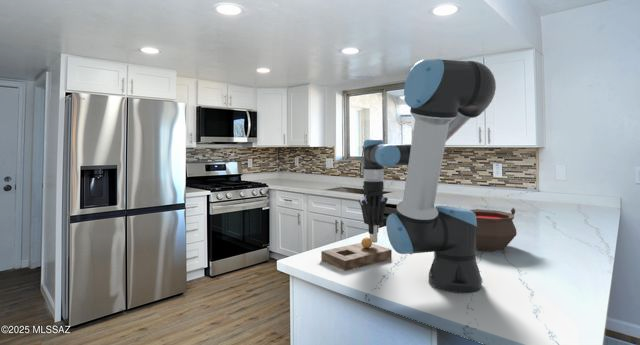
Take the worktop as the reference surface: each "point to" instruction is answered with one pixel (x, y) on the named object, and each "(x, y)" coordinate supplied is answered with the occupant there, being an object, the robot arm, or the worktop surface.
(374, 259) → the wooden block with hole
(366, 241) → the ball
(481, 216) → the brown pot
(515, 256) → the worktop surface
